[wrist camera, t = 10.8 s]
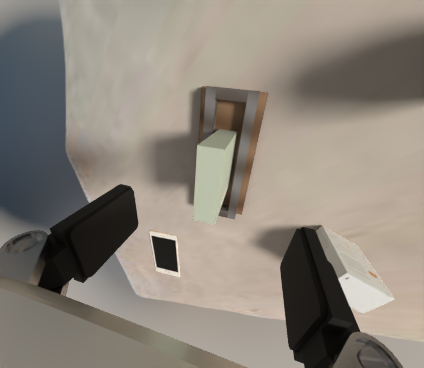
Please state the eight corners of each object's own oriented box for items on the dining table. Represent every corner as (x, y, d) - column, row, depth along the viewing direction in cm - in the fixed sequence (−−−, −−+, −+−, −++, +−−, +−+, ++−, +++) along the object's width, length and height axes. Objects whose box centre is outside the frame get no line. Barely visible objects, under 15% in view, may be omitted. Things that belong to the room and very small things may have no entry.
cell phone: (157, 269, 53) (156, 271, 52) (150, 229, 46) (148, 230, 45) (180, 275, 51) (180, 277, 51) (177, 234, 44) (176, 236, 43)
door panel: (219, 128, 29) (196, 145, 18) (237, 131, 28) (225, 149, 18) (213, 182, 33) (192, 219, 23) (229, 185, 33) (215, 225, 22)
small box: (301, 241, 36) (317, 290, 26) (321, 224, 33) (346, 272, 24) (335, 260, 36) (362, 315, 26) (358, 244, 33) (396, 300, 24)
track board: (204, 86, 27) (198, 85, 25) (267, 93, 26) (268, 92, 23) (196, 201, 38) (191, 209, 35) (242, 211, 36) (240, 220, 33)
